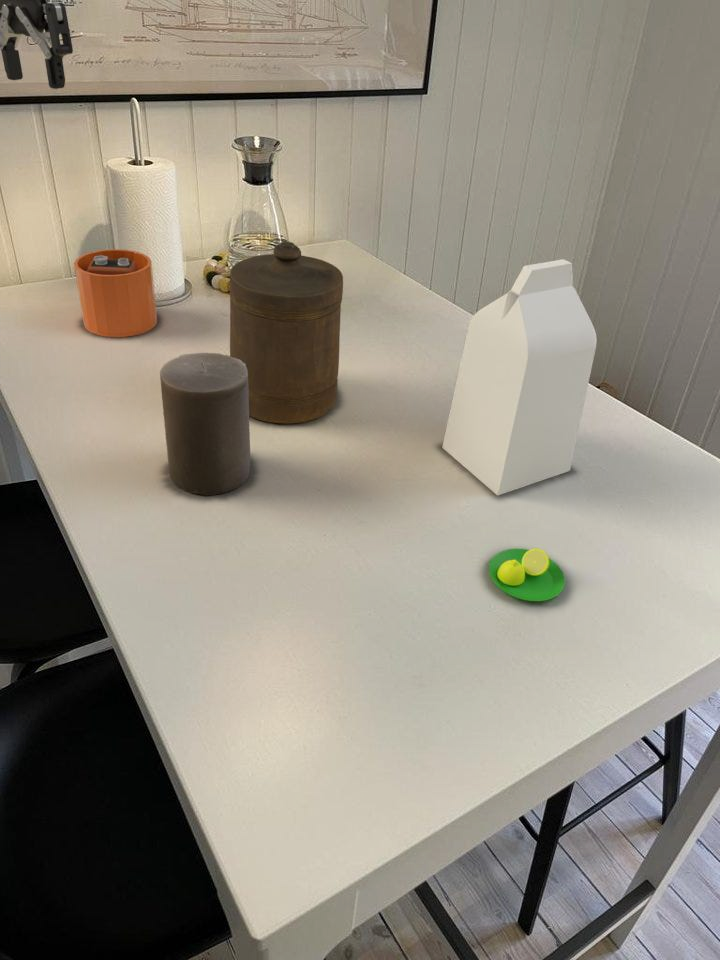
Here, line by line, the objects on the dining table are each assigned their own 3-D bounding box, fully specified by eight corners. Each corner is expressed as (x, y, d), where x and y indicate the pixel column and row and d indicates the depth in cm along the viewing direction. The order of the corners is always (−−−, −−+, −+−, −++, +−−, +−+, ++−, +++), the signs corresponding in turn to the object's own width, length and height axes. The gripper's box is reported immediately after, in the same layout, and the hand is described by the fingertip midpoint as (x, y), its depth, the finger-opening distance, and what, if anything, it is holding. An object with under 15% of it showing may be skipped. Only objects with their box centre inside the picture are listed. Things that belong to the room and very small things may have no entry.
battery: (100, 312, 124) (91, 252, 118) (142, 313, 124) (136, 254, 118) (94, 323, 120) (85, 262, 114) (138, 325, 121) (131, 264, 115)
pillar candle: (202, 506, 86) (194, 391, 77) (153, 468, 91) (140, 357, 82) (267, 473, 92) (267, 363, 83) (218, 440, 97) (212, 333, 88)
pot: (68, 324, 120) (57, 263, 115) (120, 301, 129) (112, 244, 123) (121, 344, 116) (113, 282, 110) (171, 319, 124) (166, 260, 119)
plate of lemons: (519, 543, 84) (524, 523, 83) (578, 583, 80) (585, 563, 78) (472, 573, 80) (476, 553, 78) (532, 617, 75) (538, 597, 74)
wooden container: (354, 389, 110) (365, 240, 97) (302, 436, 99) (307, 275, 86) (268, 362, 115) (268, 217, 102) (210, 404, 104) (201, 247, 91)
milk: (497, 495, 91) (542, 291, 76) (442, 447, 99) (472, 253, 84) (570, 470, 97) (625, 275, 81) (512, 426, 104) (553, 241, 89)
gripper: (74, -50, 99) (92, 88, 108) (-1, -58, 104) (22, 74, 113) (27, -51, 93) (50, 94, 103) (-49, -60, 98) (-20, 79, 108)
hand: (36, 83), depth 108 cm, fingers open, 8 cm apart
